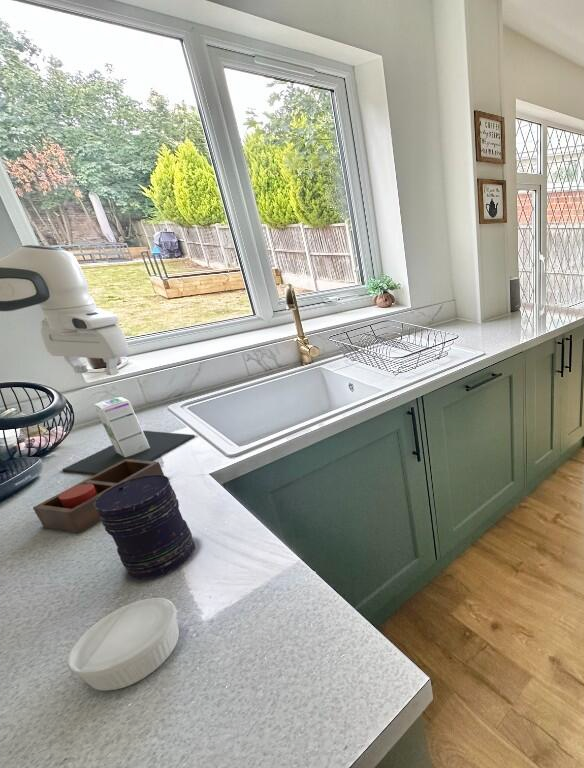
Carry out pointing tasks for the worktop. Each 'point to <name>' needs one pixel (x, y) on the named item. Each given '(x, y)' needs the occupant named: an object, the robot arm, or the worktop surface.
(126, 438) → the syrup box
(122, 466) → the caddy
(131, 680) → the ramekin
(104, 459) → the mat
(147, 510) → the dark blue cylinder
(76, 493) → the spice tin
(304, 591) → the worktop surface
